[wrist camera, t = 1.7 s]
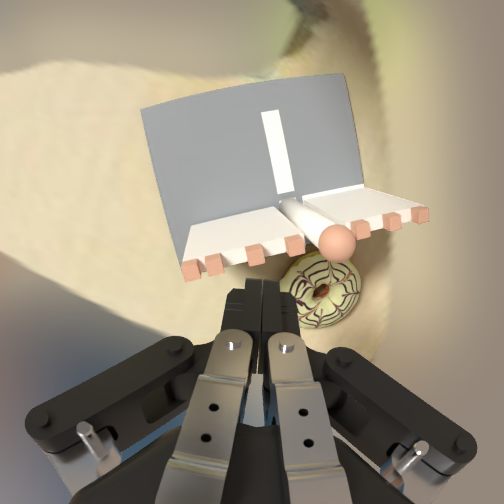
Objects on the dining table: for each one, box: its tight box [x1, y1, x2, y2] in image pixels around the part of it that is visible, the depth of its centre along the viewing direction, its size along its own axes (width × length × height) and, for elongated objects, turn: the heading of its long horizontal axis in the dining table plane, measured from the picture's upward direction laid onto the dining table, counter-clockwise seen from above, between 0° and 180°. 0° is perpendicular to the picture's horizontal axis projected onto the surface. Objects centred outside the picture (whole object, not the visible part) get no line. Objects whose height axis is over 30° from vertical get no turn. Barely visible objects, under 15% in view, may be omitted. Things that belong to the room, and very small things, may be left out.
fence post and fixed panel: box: [279, 187, 429, 263], centre depth 29 cm, size 3×11×16 cm, turn 102°
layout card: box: [141, 74, 364, 274], centre depth 35 cm, size 20×24×1 cm
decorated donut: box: [280, 250, 361, 328], centre depth 39 cm, size 10×11×4 cm
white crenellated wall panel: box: [181, 206, 306, 282], centre depth 29 cm, size 10×1×13 cm, turn 102°
